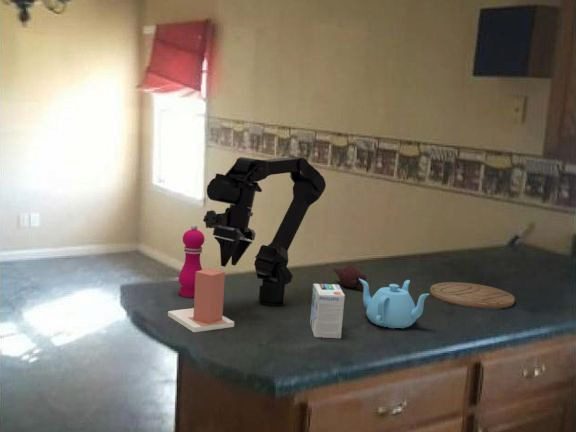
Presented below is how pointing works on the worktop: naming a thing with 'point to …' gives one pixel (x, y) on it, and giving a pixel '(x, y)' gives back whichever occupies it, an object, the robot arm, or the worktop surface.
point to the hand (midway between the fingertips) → (228, 265)
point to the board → (195, 326)
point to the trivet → (472, 295)
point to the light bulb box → (327, 310)
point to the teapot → (392, 306)
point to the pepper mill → (191, 260)
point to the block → (209, 296)
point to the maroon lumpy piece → (350, 277)
